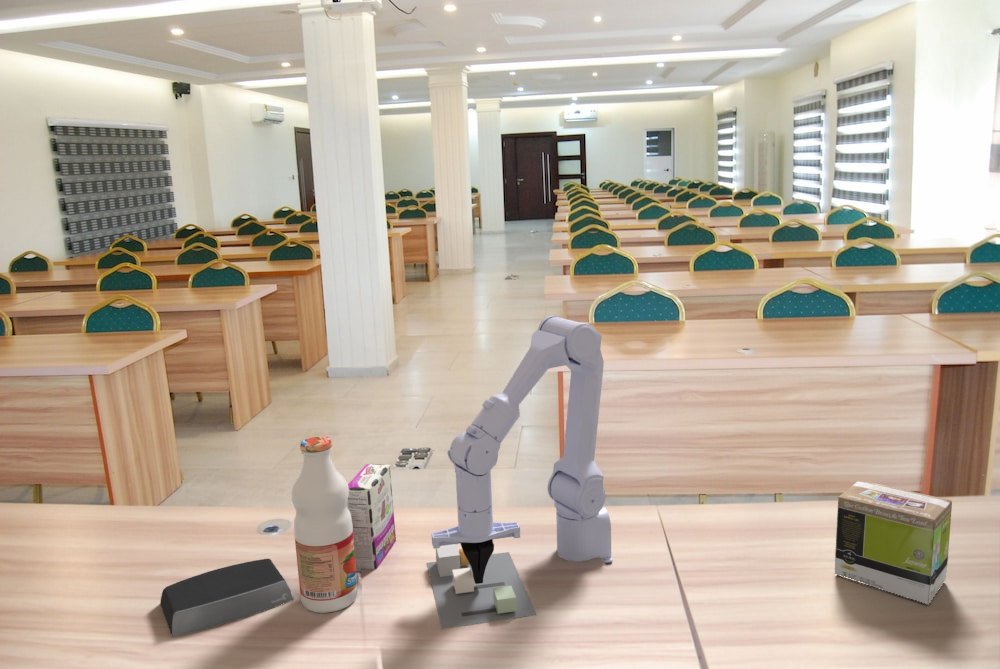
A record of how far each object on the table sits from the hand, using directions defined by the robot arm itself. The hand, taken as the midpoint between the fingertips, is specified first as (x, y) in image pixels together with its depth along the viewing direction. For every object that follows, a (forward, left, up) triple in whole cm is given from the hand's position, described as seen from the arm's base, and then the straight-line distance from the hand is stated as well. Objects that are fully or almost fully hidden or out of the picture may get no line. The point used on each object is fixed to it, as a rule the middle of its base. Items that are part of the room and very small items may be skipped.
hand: (478, 580), depth 135 cm
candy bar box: (+16, -17, -2) cm, 23 cm away
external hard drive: (+41, -8, -3) cm, 42 cm away
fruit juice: (+24, -5, -2) cm, 25 cm away
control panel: (0, 0, -2) cm, 2 cm away
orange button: (0, -8, -1) cm, 8 cm away
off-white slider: (+2, 0, -1) cm, 3 cm away
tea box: (-68, +13, -2) cm, 69 cm away
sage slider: (-3, +7, -1) cm, 8 cm away
